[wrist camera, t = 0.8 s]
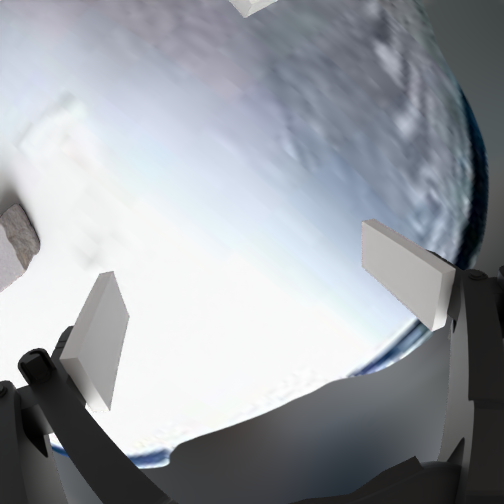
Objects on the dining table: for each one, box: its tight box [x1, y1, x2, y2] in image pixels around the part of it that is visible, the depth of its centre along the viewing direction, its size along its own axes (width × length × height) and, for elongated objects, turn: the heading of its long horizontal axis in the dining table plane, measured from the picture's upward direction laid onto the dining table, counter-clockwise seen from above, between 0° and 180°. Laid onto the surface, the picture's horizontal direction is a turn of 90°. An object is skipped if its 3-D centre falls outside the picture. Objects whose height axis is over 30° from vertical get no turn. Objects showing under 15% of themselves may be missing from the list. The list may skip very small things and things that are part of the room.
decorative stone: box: [0, 204, 40, 292], centre depth 33 cm, size 15×7×10 cm
